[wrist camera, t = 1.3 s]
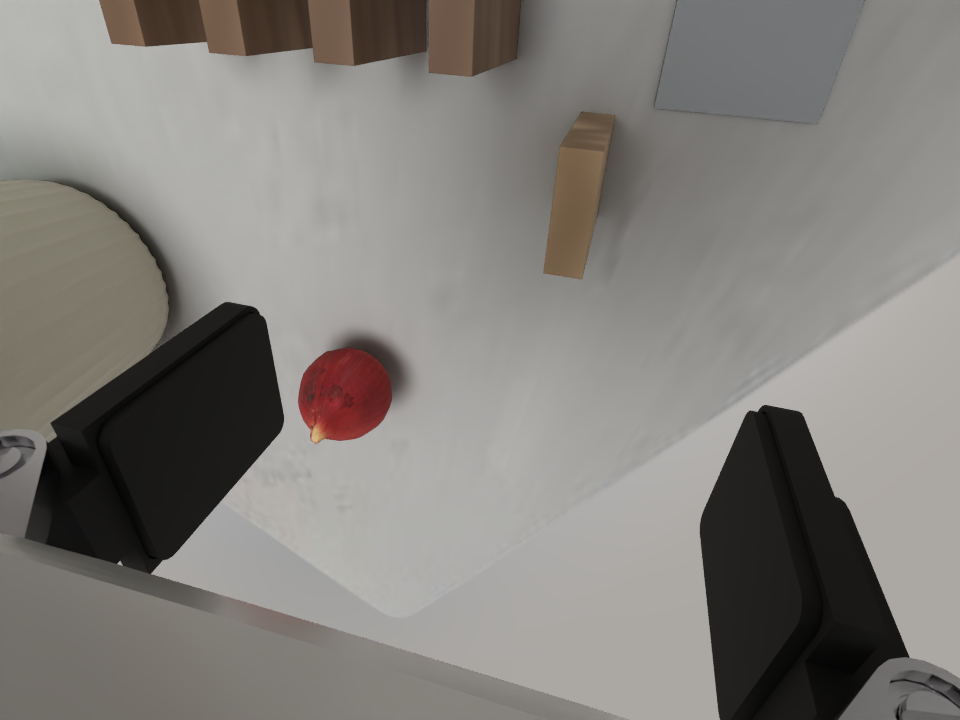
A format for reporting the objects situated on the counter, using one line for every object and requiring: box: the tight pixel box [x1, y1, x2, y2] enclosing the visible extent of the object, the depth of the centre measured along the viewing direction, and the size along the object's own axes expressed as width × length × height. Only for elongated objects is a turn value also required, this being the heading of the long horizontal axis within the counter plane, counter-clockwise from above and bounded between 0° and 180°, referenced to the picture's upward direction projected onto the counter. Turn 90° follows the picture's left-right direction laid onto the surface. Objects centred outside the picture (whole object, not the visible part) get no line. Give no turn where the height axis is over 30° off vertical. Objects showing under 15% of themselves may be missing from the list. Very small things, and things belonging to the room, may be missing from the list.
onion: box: [298, 348, 392, 444], centre depth 35 cm, size 6×6×8 cm
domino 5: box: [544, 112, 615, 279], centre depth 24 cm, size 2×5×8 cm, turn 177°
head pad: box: [654, 0, 865, 124], centre depth 22 cm, size 7×8×1 cm
